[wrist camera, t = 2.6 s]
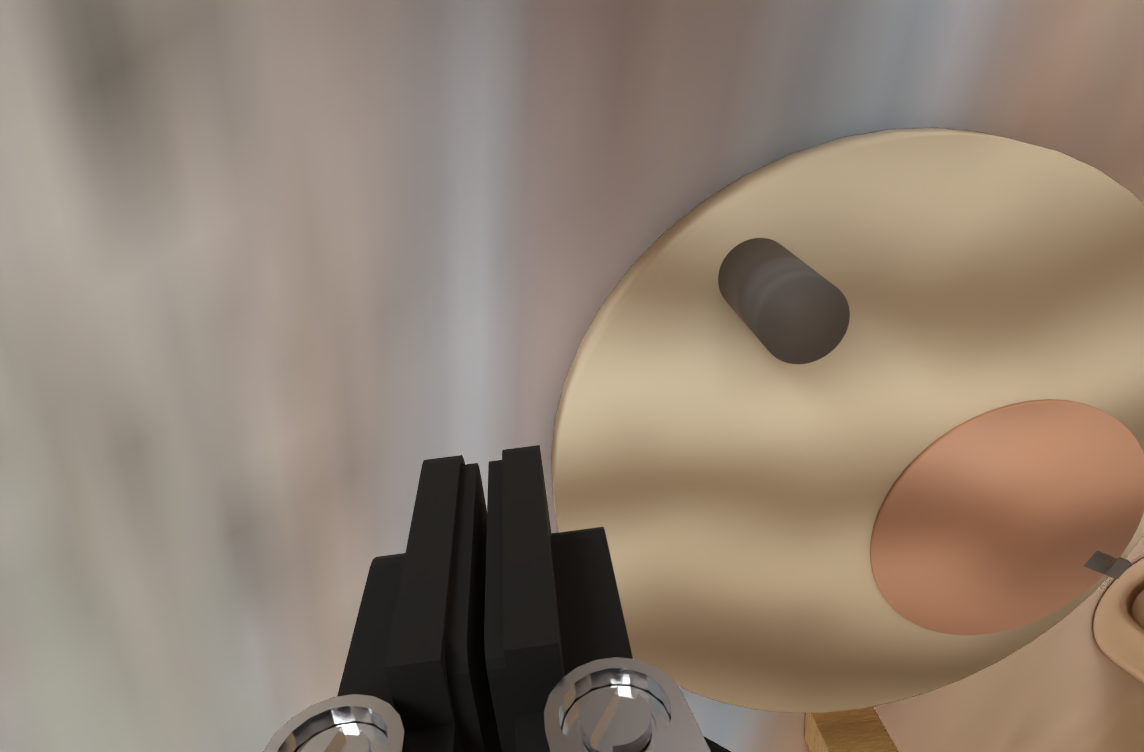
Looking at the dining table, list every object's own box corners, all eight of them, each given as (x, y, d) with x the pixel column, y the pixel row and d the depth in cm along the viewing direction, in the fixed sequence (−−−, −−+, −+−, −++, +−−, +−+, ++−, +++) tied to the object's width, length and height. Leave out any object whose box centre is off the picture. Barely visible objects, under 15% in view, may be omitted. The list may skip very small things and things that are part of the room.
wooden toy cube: (806, 702, 29) (838, 771, 27) (865, 693, 29) (903, 761, 27) (804, 737, 30) (834, 807, 28) (862, 729, 30) (898, 798, 28)
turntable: (511, 172, 19) (517, 216, 15) (1244, 88, 20) (1458, 106, 16) (581, 715, 28) (598, 847, 24) (1094, 638, 29) (1204, 752, 24)
